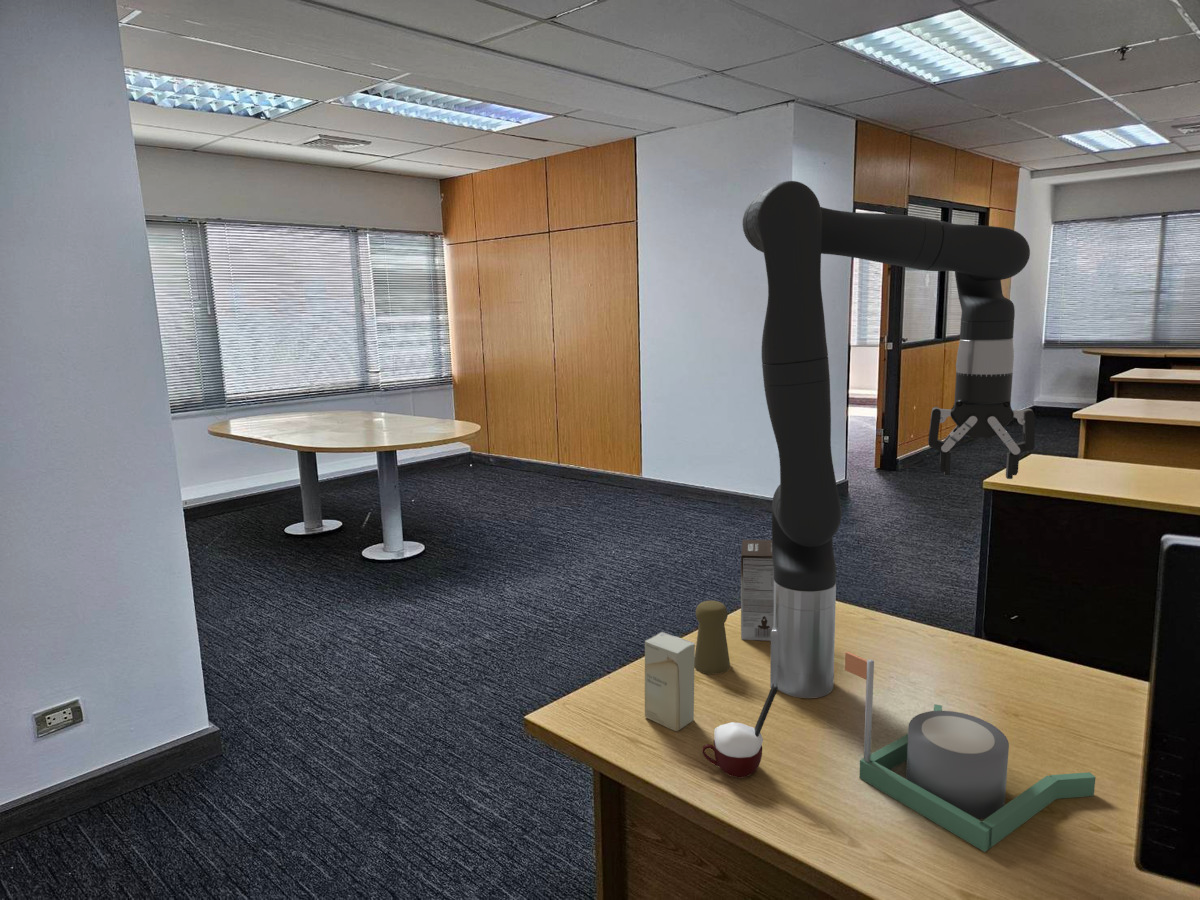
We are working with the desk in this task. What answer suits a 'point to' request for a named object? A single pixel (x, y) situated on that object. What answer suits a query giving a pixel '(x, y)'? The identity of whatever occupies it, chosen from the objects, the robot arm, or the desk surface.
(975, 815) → the grey cylinder
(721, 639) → the cork
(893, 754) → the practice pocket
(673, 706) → the skincare box
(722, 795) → the desk surface
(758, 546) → the coffee box
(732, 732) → the cocoa
